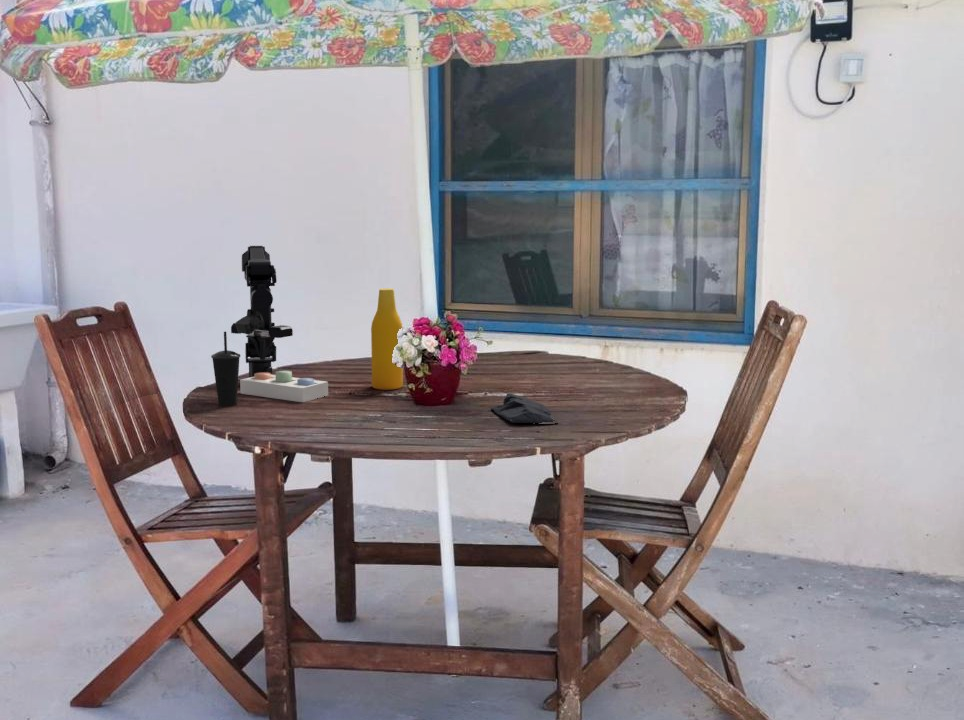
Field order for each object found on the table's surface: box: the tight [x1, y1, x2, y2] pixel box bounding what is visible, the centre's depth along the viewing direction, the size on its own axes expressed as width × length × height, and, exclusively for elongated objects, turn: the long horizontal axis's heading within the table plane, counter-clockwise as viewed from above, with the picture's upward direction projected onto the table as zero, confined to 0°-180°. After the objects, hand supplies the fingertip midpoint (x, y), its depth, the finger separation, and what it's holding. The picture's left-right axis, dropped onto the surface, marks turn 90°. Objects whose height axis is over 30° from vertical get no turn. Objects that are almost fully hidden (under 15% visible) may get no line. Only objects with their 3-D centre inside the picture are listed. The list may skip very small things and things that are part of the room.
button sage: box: [274, 370, 293, 383], centre depth 304 cm, size 5×5×5 cm
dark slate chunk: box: [490, 392, 556, 424], centre depth 279 cm, size 15×22×5 cm
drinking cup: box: [210, 331, 241, 407], centre depth 289 cm, size 8×8×20 cm
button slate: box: [297, 377, 315, 386], centre depth 300 cm, size 5×5×5 cm
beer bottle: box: [370, 288, 404, 391], centre depth 314 cm, size 9×9×29 cm
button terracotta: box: [254, 372, 271, 380], centre depth 308 cm, size 5×5×5 cm
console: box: [239, 373, 329, 403], centre depth 304 cm, size 23×11×4 cm, turn 59°
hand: (262, 359), depth 307 cm, fingers closed
